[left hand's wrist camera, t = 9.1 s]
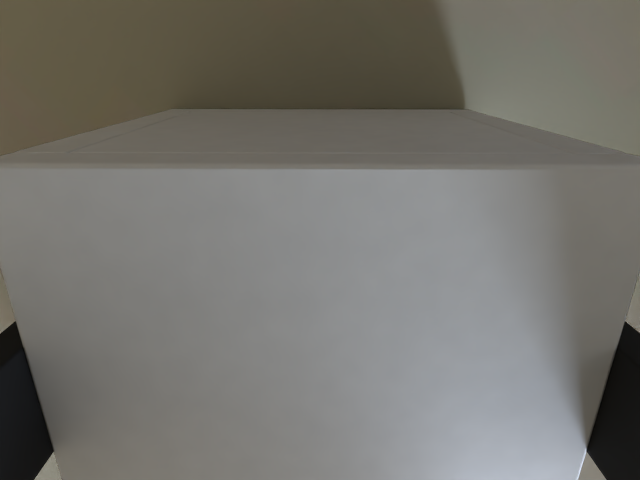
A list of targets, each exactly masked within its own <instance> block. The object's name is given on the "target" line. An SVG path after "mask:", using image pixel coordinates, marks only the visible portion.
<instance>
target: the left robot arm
mask: <svg viewBox="0 0 640 480" xmlns="http://www.w3.org/2000/svg"><path fill="white" fill-rule="evenodd" d="M586 451H587V452H588V454H589V455H590V457H591V458H592V460H593V461H594V462H595V464H596V465H597V467H598V468H599V470H600V471H601V472H602V474H603V475H604V477H605V478H606V480H640V333H639V332H637V331H636V330H635V329H634V328H633V327H631V326H630V325H629V324H628V323H627V322H624V326H623V329H622V332H621V336H620V339H619V343H618V346H617V349H616V353H615V356H614V359H613V363H612V366H611V369H610V373H609V376H608V380H607V383H606V386H605V390H604V393H603V396H602V400H601V403H600V407H599V410H598V413H597V417H596V420H595V423H594V427H593V430H592V434H591V437H590V440H589V444H588V447H587V450H586ZM53 452H54V450H53V447H52V443H51V440H50V437H49V433H48V430H47V426H46V423H45V419H44V416H43V413H42V409H41V406H40V402H39V399H38V395H37V392H36V388H35V385H34V382H33V378H32V375H31V371H30V368H29V364H28V361H27V358H26V354H25V351H24V347H23V344H22V340H21V337H20V334H19V330H18V327H17V323H16V321H15V322H14V323H13V324H12V325H10V326H9V327H8V328H7V329H6V330H4V331H3V332H2V333H1V334H0V480H34V479H35V477H36V476H37V475H38V473H39V472H40V470H41V469H42V467H43V466H44V465H45V463H46V462H47V460H48V459H49V457H50V456H51V455H52V453H53Z"/></svg>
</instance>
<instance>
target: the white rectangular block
mask: <svg viewBox="0 0 640 480" xmlns="http://www.w3.org/2000/svg"><path fill="white" fill-rule="evenodd" d="M0 268H1V272H2V275H3V279H4V282H5V286H6V289H7V292H8V296H9V299H10V303H11V306H12V310H13V313H14V316H15V320H16V323H17V327H18V330H19V334H20V337H21V340H22V344H23V347H24V351H25V354H26V358H27V361H28V364H29V368H30V371H31V375H32V378H33V382H34V385H35V388H36V392H37V395H38V399H39V402H40V406H41V409H42V413H43V416H44V419H45V423H46V426H47V430H48V433H49V437H50V440H51V443H52V447H53V450H54V454H55V457H56V461H57V464H58V467H59V471H60V474H61V478H62V480H578V477H579V474H580V471H581V467H582V464H583V461H584V457H585V454H586V450H587V447H588V444H589V440H590V437H591V434H592V430H593V427H594V423H595V420H596V417H597V413H598V410H599V407H600V403H601V400H602V396H603V393H604V390H605V386H606V383H607V380H608V376H609V373H610V369H611V366H612V363H613V359H614V356H615V353H616V349H617V346H618V343H619V339H620V336H621V332H622V329H623V326H624V322H625V319H626V316H627V312H628V309H629V305H630V302H631V299H632V295H633V292H634V289H635V285H636V282H637V278H638V275H639V272H640V157H639V156H635V155H632V154H626V153H624V152H621V151H617V150H613V149H610V148H606V147H602V146H599V145H595V144H592V143H588V142H584V141H581V140H577V139H573V138H570V137H566V136H562V135H559V134H555V133H551V132H548V131H544V130H540V129H537V128H533V127H530V126H526V125H522V124H519V123H515V122H511V121H508V120H504V119H500V118H497V117H493V116H489V115H486V114H482V113H478V112H476V111H472V110H435V109H170V110H166V111H163V112H159V113H155V114H152V115H148V116H144V117H141V118H137V119H133V120H130V121H126V122H122V123H119V124H115V125H111V126H108V127H104V128H100V129H96V130H93V131H89V132H85V133H82V134H78V135H74V136H71V137H67V138H63V139H60V140H56V141H52V142H49V143H45V144H41V145H38V146H34V147H30V148H26V149H23V150H19V151H16V152H14V153H9V154H5V155H2V156H0Z"/></svg>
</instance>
